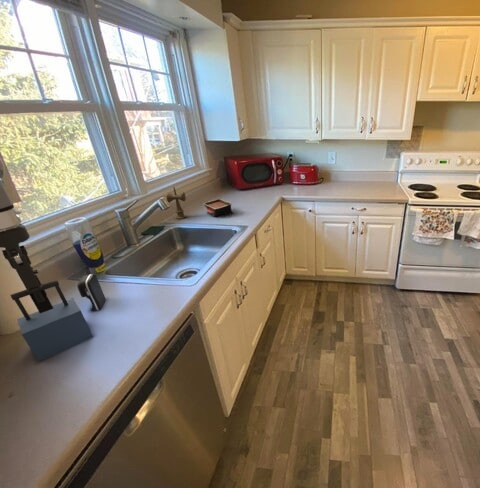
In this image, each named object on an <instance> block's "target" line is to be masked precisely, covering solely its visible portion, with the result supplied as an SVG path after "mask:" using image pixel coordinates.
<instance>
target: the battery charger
mask: <svg viewBox="0 0 480 488" xmlns="http://www.w3.org/2000/svg"><path fill="white" fill-rule="evenodd" d="M76 287H77V290H78V292H79V295H80V297H81V298H86V299H88V300H89V301H90V303H91V306H90V311H91V312H96V311H100V310H102V308H103V306H104V305H105V302H106V296H105V294H104V291H103V288H102V286H101V284H100V282H99V279H98V277H97V275H96V274H94V273H90V274H86V275H83V276H82V277H80V279H79V280H78V282H77V285H76Z"/></svg>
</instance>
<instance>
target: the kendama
mask: <svg viewBox="0 0 480 488" xmlns="http://www.w3.org/2000/svg"><path fill="white" fill-rule="evenodd" d="M172 189H173V193H171V192H166V194H165V199H166V201H167V203H172V202H174V200H175V204H176V210H175V213H176V219H177V220H183V219H185V218H186V216H187V215H185V214H184V212H185V211H184V209H183V208H182V206H181V204H180V201H181V202H186V200H187V197H186V193H185V192H184V191H182V192H180V193H179V194H177V191H176V188H175V186H173V187H172Z"/></svg>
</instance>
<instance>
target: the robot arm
mask: <svg viewBox="0 0 480 488" xmlns="http://www.w3.org/2000/svg"><path fill="white" fill-rule="evenodd" d="M21 214H22V211H21V210H19V209H17V210H16V207H15V205H14V204H13V202H12V200H11V197H10V195H9V193H8V191H7V190H6V188H5V185H4V183H3V179H2V178H1V177H0V248H1V249H2V248H3V249H2V250H1V252H2V255H3V257H4V259H5V260H6V261H7V262H8V264H9V265H10V268H12V269H13V270H15V271H16V273H17V275H18V277H19V279H20V281H21V283H22V284H23V286H24V289H25V290H26V289H27V292H25V293H24V294H25V295H27V294H29V295H28V296H29V297H30V299H31V300H32V302H33V304H34V306H35V308H36V309H37V312H38V311H39V313H43V312H46V311H48V310H51V309H53V306H54V305H52V303H51V301H50V299H49V297H48V295H47V292H46V290H43V288H42V286H40V285H42V282H41V281H40V279H39V277H38V275H37V274H39V271H38V269H35V270H34V268H33V267H32V261H31V259H30V258H29V256H28V255H29V253H28V251H27V249H26V247H25V245H20V244H21V243H25V242H26V241H28V240H29V239H30V234H29V232H28V229H27V228H26V226H25V225H24V224H22V222H23V221H22V218H21V217H20V215H21Z"/></svg>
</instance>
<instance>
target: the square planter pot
mask: <svg viewBox="0 0 480 488" xmlns="http://www.w3.org/2000/svg"><path fill="white" fill-rule="evenodd" d="M202 204H203V205H204V206H205V208H206V211H207V212H206V213H207V214H210V215H211V216H213V217H214V218H215V217H218V216H227V215H233V212H232V205H233V204H232V202H229V201H227V200H224V199H222V198H216V199H212V200H209V201H205V202H203V203H202Z"/></svg>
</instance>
